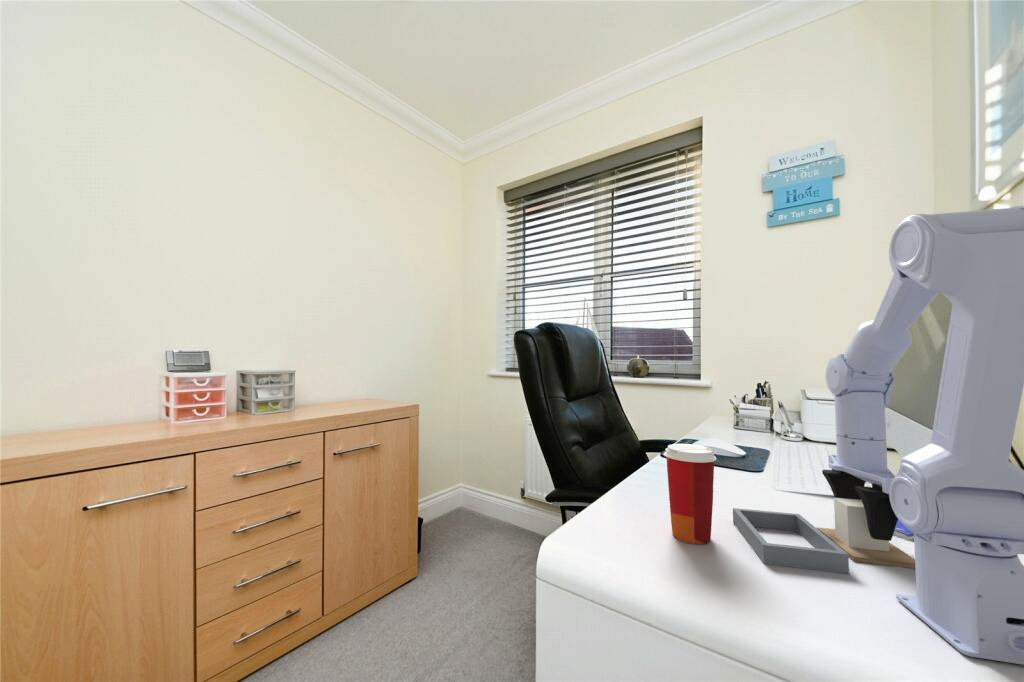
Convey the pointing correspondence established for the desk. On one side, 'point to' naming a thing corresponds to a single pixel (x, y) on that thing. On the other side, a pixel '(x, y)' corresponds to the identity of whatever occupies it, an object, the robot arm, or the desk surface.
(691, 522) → the paper cup
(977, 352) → the robot arm
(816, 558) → the tray
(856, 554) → the pad
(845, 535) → the block
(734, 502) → the desk surface
